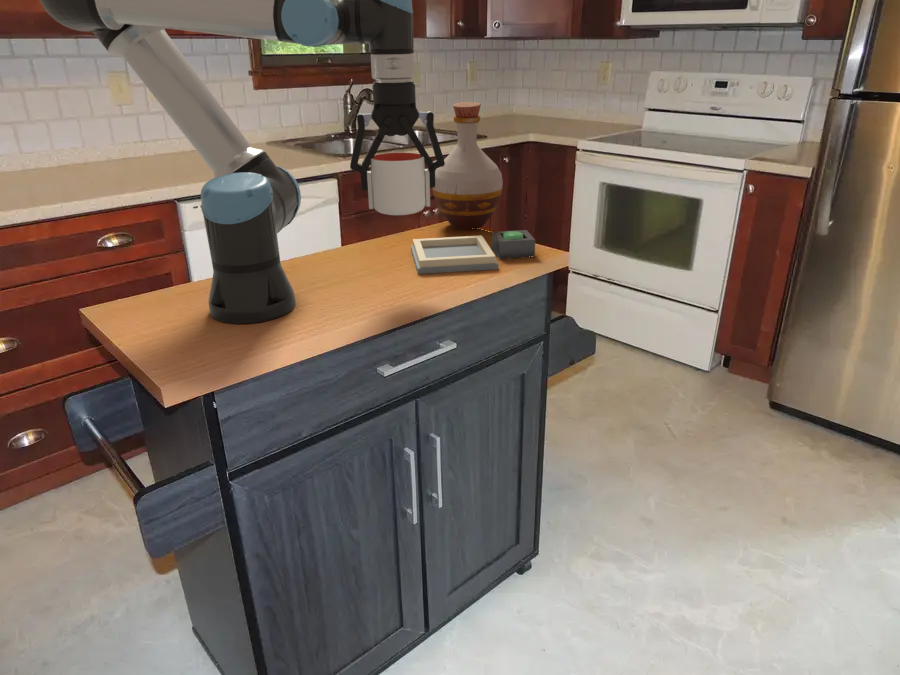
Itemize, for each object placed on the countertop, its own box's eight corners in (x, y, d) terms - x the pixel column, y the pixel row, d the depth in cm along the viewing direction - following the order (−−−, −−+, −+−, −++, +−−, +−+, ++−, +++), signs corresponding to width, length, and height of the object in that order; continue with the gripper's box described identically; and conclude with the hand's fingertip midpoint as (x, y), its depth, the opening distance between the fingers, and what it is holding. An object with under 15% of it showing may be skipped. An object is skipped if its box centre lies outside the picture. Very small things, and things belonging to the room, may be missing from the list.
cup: (426, 203, 131) (424, 151, 127) (425, 216, 122) (424, 160, 117) (375, 204, 130) (372, 152, 126) (371, 217, 121) (367, 161, 117)
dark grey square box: (499, 259, 146) (499, 241, 144) (492, 248, 153) (492, 231, 151) (534, 257, 146) (535, 239, 145) (525, 246, 154) (526, 230, 152)
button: (505, 251, 147) (505, 237, 146) (501, 245, 151) (501, 231, 149) (524, 250, 147) (525, 236, 146) (520, 244, 151) (520, 230, 150)
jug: (441, 214, 183) (439, 99, 170) (506, 216, 180) (508, 99, 167) (426, 233, 165) (422, 106, 153) (497, 236, 162) (499, 107, 150)
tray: (417, 274, 137) (417, 261, 136) (411, 250, 153) (410, 238, 152) (498, 269, 139) (498, 256, 138) (483, 246, 155) (483, 234, 154)
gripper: (327, 83, 112) (338, 213, 121) (460, 80, 114) (461, 208, 124) (329, 80, 119) (339, 204, 128) (454, 77, 121) (455, 199, 130)
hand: (399, 206), depth 126 cm, fingers closed on cup, 10 cm apart
